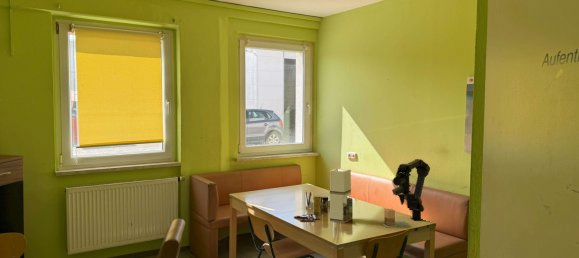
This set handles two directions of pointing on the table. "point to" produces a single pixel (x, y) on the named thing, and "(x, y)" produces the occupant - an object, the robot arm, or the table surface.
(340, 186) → the cream tall block
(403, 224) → the plan board
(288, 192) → the table surface
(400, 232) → the table surface
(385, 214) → the terracotta cube
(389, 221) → the walnut cube
